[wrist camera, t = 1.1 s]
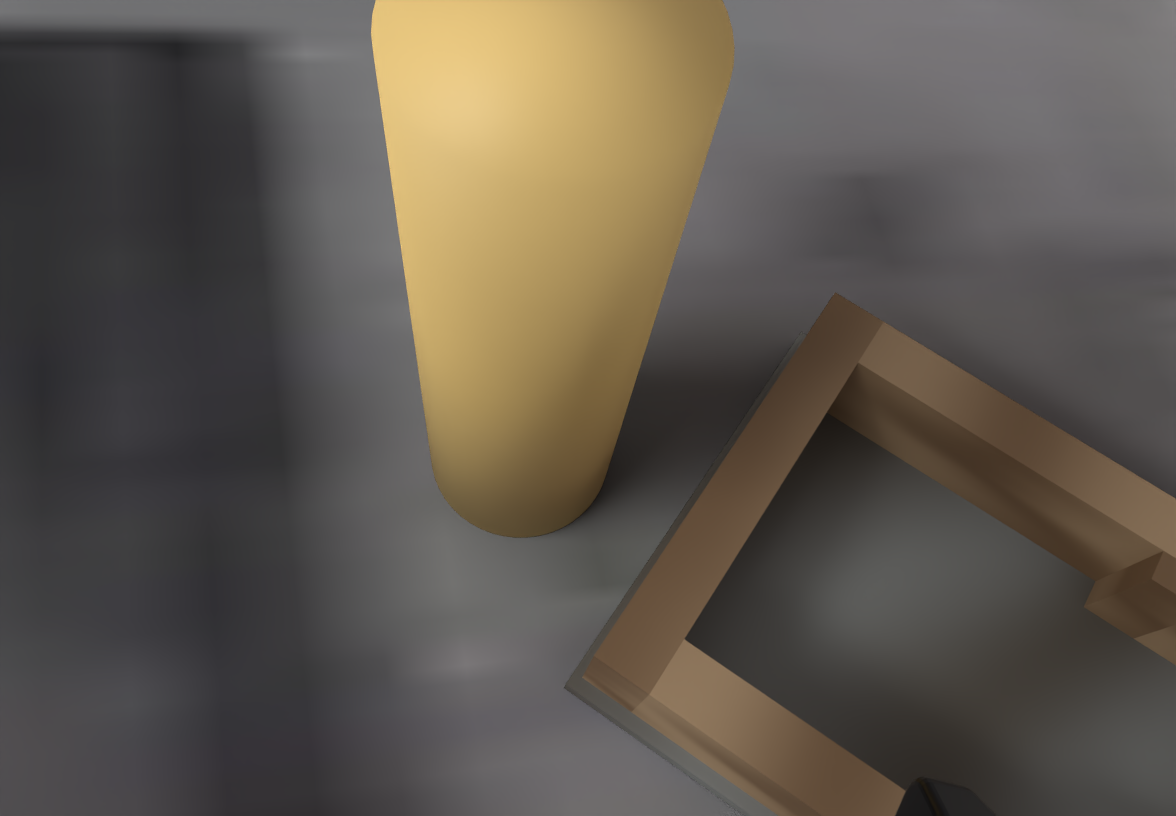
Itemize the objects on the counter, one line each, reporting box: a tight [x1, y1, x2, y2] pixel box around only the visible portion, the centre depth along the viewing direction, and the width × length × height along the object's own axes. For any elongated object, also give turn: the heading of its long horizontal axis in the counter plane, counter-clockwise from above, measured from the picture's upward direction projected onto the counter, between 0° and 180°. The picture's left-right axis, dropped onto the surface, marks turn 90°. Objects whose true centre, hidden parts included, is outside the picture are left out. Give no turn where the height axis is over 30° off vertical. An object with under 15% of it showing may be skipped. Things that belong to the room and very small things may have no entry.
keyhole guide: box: [564, 293, 1176, 816], centre depth 20 cm, size 16×10×3 cm, turn 56°
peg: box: [371, 0, 734, 537], centre depth 17 cm, size 4×4×13 cm
